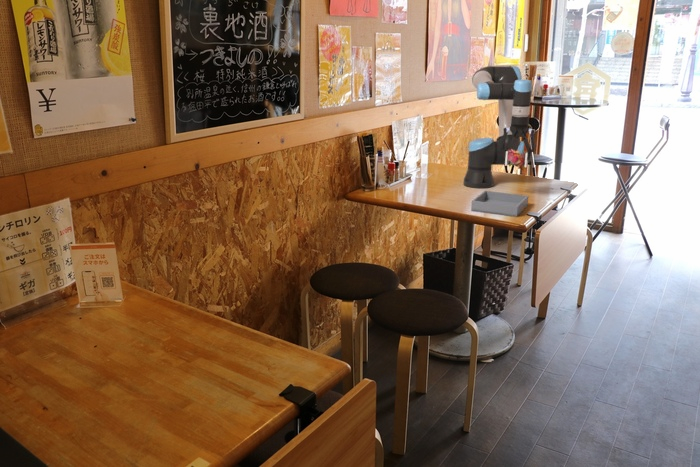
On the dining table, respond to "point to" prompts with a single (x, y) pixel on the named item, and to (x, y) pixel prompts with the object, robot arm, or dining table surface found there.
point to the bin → (500, 203)
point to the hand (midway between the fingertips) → (516, 165)
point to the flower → (515, 158)
